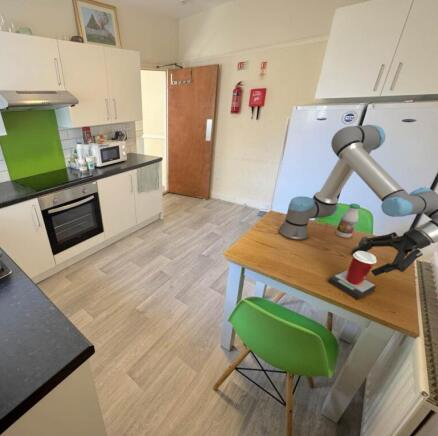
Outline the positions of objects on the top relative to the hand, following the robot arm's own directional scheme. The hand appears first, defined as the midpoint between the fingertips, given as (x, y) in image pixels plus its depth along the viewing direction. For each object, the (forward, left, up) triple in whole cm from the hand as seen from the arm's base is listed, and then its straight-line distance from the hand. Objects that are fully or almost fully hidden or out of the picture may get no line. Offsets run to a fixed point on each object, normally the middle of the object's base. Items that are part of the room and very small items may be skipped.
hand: (362, 263), depth 101 cm
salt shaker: (-28, -12, -13) cm, 33 cm away
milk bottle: (-43, -28, -13) cm, 53 cm away
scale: (0, 0, -13) cm, 13 cm away
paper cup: (0, 0, -10) cm, 10 cm away
